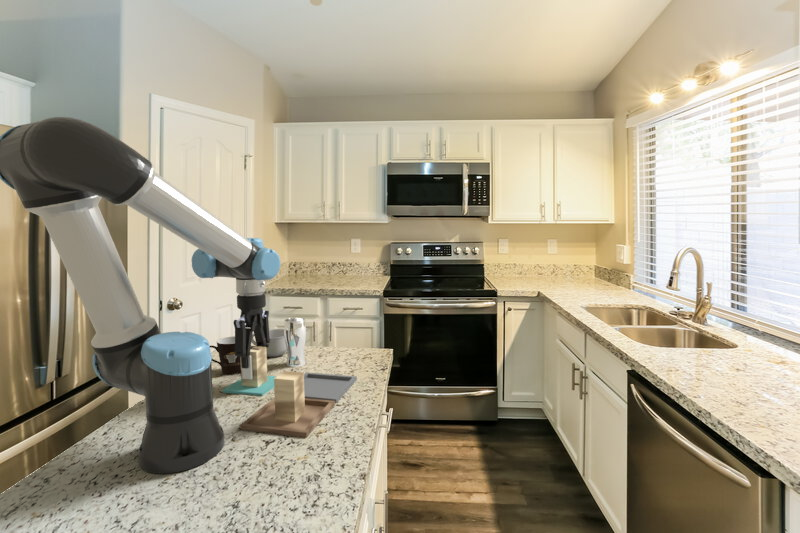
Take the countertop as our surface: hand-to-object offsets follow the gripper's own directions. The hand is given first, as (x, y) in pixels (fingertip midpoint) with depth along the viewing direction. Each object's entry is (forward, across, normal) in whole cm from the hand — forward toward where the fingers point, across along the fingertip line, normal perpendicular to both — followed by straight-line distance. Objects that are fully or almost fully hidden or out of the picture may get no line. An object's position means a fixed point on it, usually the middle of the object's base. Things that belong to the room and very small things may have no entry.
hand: (254, 374), depth 113 cm
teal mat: (+3, 0, 0) cm, 3 cm away
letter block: (+3, 0, 0) cm, 3 cm away
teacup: (+4, +27, +11) cm, 29 cm away
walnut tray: (+3, -15, -19) cm, 24 cm away
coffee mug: (+4, +9, +15) cm, 18 cm away
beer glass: (+4, +19, -3) cm, 20 cm away
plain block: (+3, -15, -19) cm, 24 cm away
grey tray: (+3, +2, -19) cm, 19 cm away
